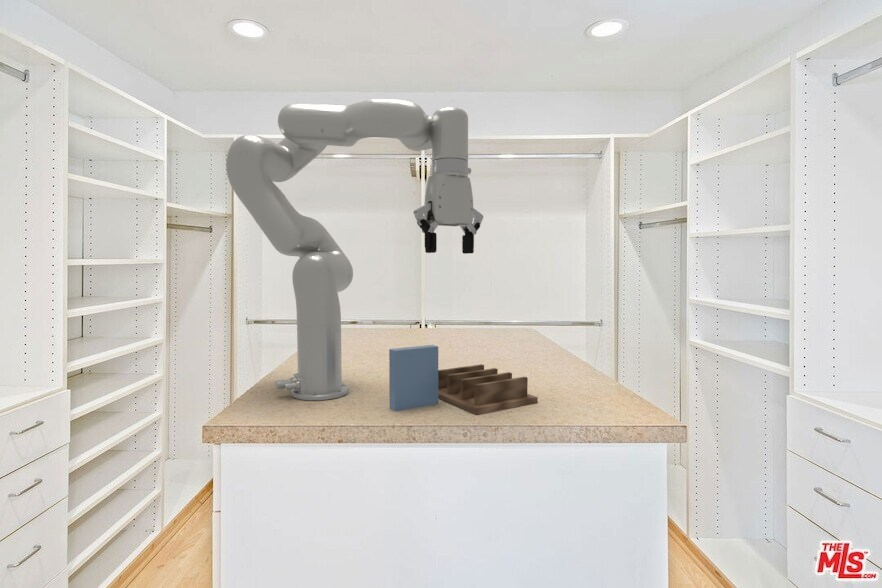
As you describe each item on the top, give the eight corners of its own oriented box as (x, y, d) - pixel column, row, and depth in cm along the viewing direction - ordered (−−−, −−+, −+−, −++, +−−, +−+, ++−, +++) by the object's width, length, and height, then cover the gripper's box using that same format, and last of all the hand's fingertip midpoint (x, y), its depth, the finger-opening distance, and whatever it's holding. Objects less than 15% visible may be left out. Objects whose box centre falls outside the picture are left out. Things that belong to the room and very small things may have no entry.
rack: (475, 414, 94) (475, 388, 94) (425, 393, 110) (425, 370, 110) (537, 402, 103) (537, 378, 102) (482, 383, 119) (482, 362, 118)
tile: (394, 411, 96) (394, 350, 96) (389, 408, 98) (389, 349, 98) (438, 403, 102) (438, 346, 101) (432, 401, 104) (432, 344, 103)
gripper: (471, 177, 111) (470, 254, 112) (405, 169, 101) (405, 252, 102) (493, 172, 105) (492, 253, 106) (425, 162, 95) (425, 252, 96)
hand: (449, 253), depth 104 cm, fingers open, 9 cm apart
